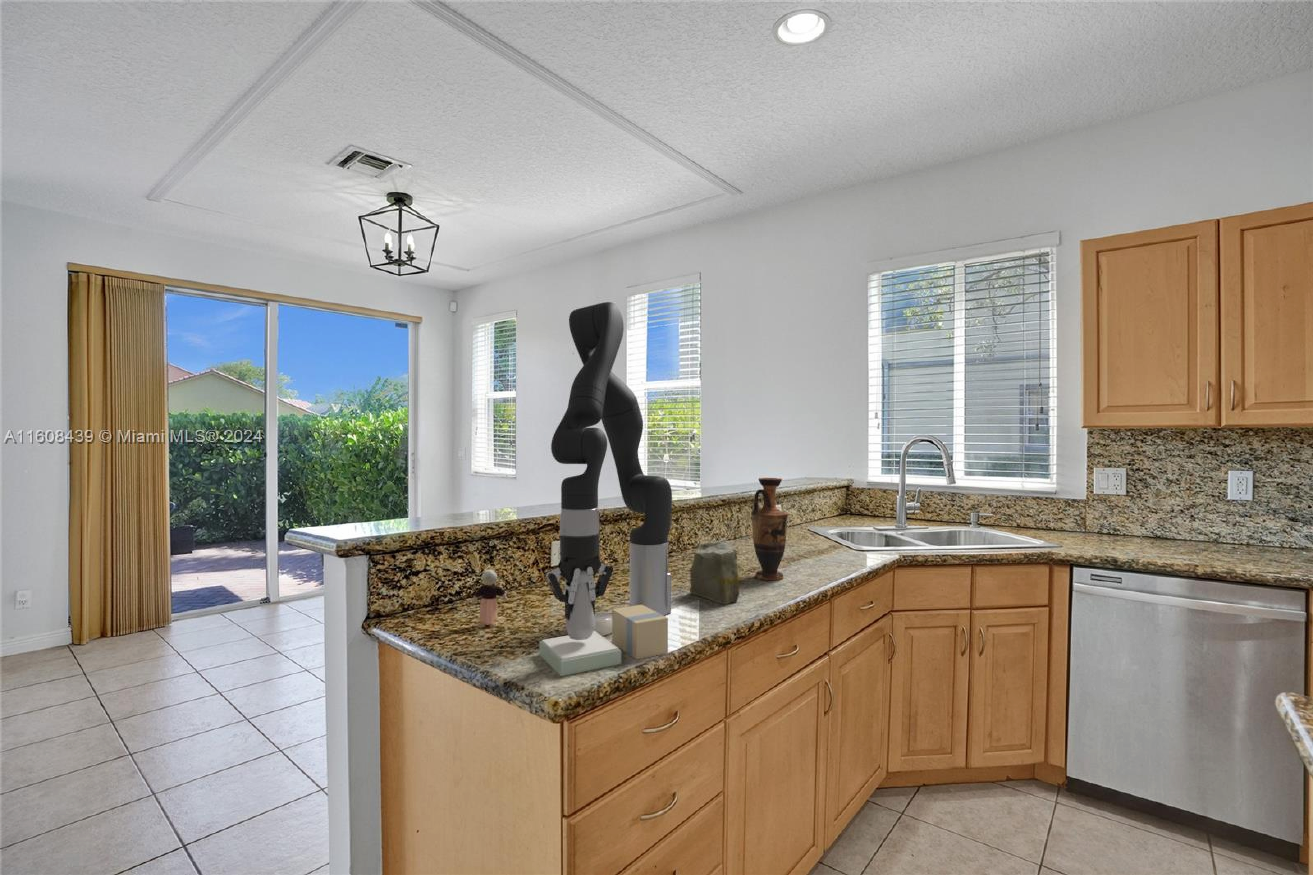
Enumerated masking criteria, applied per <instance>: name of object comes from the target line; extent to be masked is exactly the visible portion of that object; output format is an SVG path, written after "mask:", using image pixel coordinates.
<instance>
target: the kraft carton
mask: <svg viewBox="0 0 1313 875" xmlns="http://www.w3.org/2000/svg"><path fill="white" fill-rule="evenodd" d="M611 611H612V612H611V614H612V633H611V643H612V644H614V645H615V646H617V647H618V648H619V649H620V650H621V651H623V652H625V653H626V654H627V655H628V656H630V657H631V658H633V659H635V660H637V661H638V660H640V659H647V658H651V657H656V655H657V656H661V655H666V654H669V642H668V641H669V639H668V638H669V624H668V623H669V621H668V620H669V618H668V617H667V616H665V615H662V614H660V613H658V612H655V611H653V610H651V609H649V608H648V607H646V606H644V605H636V606H630V605H629V606H623V607H618V608H612V609H611Z"/></svg>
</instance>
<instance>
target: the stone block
mask: <svg viewBox="0 0 1313 875" xmlns="http://www.w3.org/2000/svg"><path fill="white" fill-rule="evenodd" d="M737 552H738V551H737V549H735V547H734V546H733V545H732V544H731V543H729V542H727V539H725V538H724V539H721V540H717V541H711V542H709V541H708V542H705V543H701V544H700V546H699V547H698V548H697V550H696V551H695V552H694V556H693V558H694V559H693V562H692V564H691V567H690V572H689V573H690V575H689V576H690V578H689V579H690V582H689V583H690V587H689V592H690V594H693V595H696V596H699V597H702V598H704V599H707V600H711V601H714V602H717V603H719V604H723V605H728V604H729V603H734V602H737V601H738V598H739V596H740V588H739V579H738V578H739V574H738V573H739V572H738V561H737V560H738V559H737V558H738V553H737Z"/></svg>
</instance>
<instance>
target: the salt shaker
mask: <svg viewBox="0 0 1313 875" xmlns="http://www.w3.org/2000/svg"><path fill="white" fill-rule="evenodd" d="M577 579H578V586H577V591H576V593H575V598H574V603H573V604H574V607H573V611H572V613H570V619H569V621H568V620H567V619H566V618H565V623H564V626H565V629H566V632H567V634H568V635H569V637H570V638H571V639H574V640H585V639H588V638H589V637H591V635H592V633H593V630H594V628H595V624H596V623H595V618H594V612H593V606H592V604H591V600H590V596H589V591H588V584H587V582H588V581H589V579H591V578H590V576H588V575H587V572H586V571H580V576H579V577H578V578H577Z"/></svg>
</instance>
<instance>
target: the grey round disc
mask: <svg viewBox="0 0 1313 875" xmlns="http://www.w3.org/2000/svg"><path fill="white" fill-rule="evenodd" d="M594 618H595V623H596V624H595V628H594V630H593V631H596V632H597V633H598V634H600V635H601V636H603V637H604V636H608V635H610V634H612V613H608V612H598V613H595V615H594Z"/></svg>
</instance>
